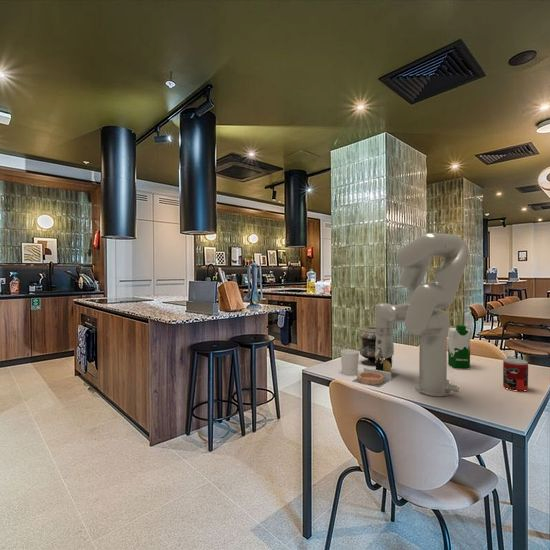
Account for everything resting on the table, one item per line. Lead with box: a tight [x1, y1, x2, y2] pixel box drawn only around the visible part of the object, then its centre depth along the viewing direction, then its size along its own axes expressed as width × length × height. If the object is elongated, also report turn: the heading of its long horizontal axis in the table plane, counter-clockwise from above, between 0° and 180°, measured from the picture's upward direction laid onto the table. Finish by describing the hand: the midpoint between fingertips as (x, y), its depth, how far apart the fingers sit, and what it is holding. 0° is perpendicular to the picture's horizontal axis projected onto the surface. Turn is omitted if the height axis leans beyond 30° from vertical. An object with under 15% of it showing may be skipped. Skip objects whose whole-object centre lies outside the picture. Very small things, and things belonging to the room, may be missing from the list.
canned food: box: [502, 357, 529, 391], centre depth 135 cm, size 8×8×11 cm
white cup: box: [340, 348, 360, 376], centre depth 156 cm, size 8×8×10 cm
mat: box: [352, 368, 400, 388], centre depth 149 cm, size 12×22×1 cm, turn 140°
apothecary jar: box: [359, 325, 376, 367], centre depth 171 cm, size 12×12×18 cm
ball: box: [382, 358, 392, 372], centre depth 155 cm, size 6×6×6 cm
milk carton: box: [447, 324, 472, 369], centre depth 165 cm, size 9×9×20 cm
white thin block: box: [363, 367, 392, 381], centre depth 149 cm, size 12×1×3 cm, turn 50°
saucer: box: [356, 371, 384, 386], centre depth 144 cm, size 10×10×2 cm
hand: (383, 369), depth 155 cm, fingers open, 9 cm apart
